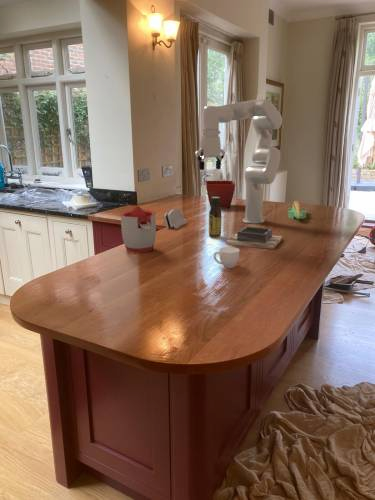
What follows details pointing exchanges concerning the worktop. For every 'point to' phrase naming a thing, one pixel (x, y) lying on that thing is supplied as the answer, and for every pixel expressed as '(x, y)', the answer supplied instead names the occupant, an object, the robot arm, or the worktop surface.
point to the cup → (228, 256)
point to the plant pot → (221, 192)
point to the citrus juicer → (138, 229)
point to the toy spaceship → (296, 211)
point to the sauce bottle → (215, 218)
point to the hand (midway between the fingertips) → (210, 169)
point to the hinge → (174, 218)
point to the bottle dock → (255, 238)
